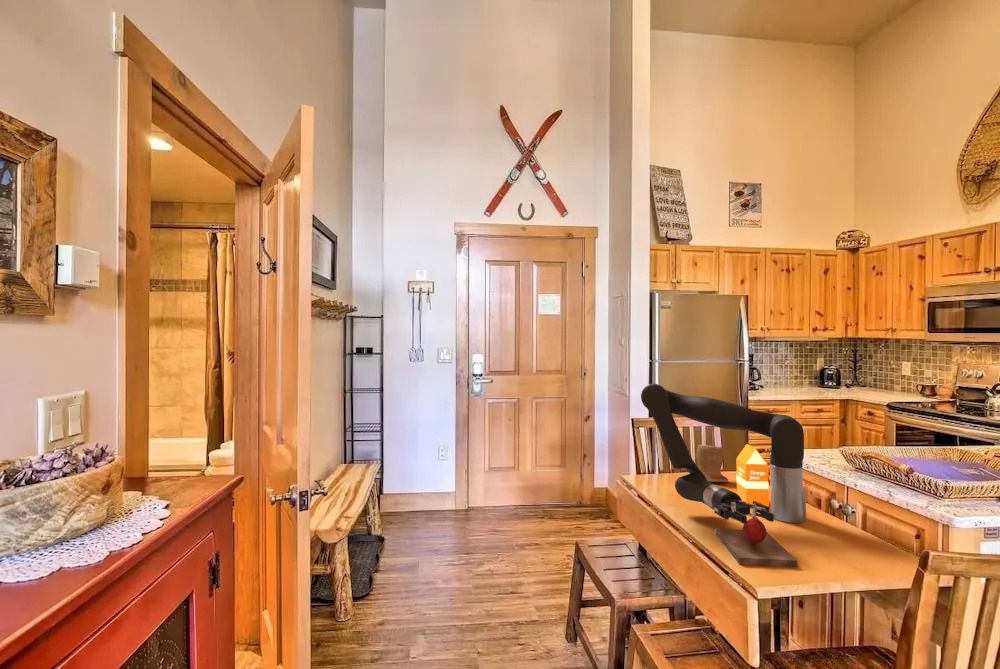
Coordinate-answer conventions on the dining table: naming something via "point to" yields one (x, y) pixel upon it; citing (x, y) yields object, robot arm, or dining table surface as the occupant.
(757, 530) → the onion
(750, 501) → the orange juice
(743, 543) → the cutting board
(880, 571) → the dining table surface
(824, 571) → the dining table surface
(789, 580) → the dining table surface
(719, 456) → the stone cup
